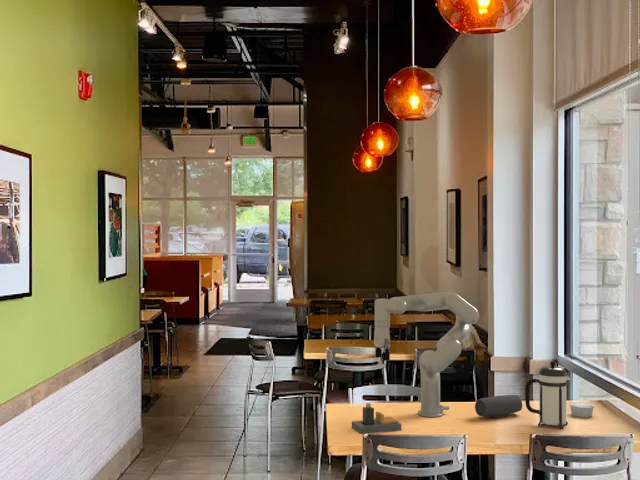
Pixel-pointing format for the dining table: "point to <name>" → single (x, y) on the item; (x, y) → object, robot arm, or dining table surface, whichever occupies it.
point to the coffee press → (550, 395)
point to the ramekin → (581, 409)
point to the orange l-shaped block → (384, 419)
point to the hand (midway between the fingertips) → (382, 358)
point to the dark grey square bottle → (368, 415)
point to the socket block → (375, 427)
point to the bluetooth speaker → (498, 405)
